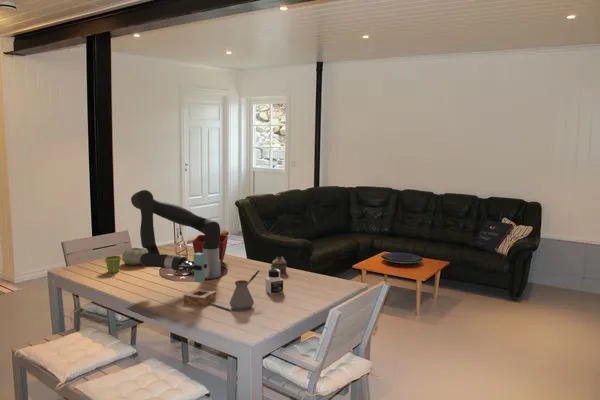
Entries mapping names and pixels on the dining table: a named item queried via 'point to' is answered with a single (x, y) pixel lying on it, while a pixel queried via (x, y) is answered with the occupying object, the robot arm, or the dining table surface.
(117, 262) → the plant pot
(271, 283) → the medicine bottle
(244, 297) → the coffee pot
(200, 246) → the plant pot
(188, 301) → the brown square slotted piece
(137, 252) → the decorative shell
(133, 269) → the dining table surface
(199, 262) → the peg
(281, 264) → the cupcake
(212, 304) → the dark grey rod
